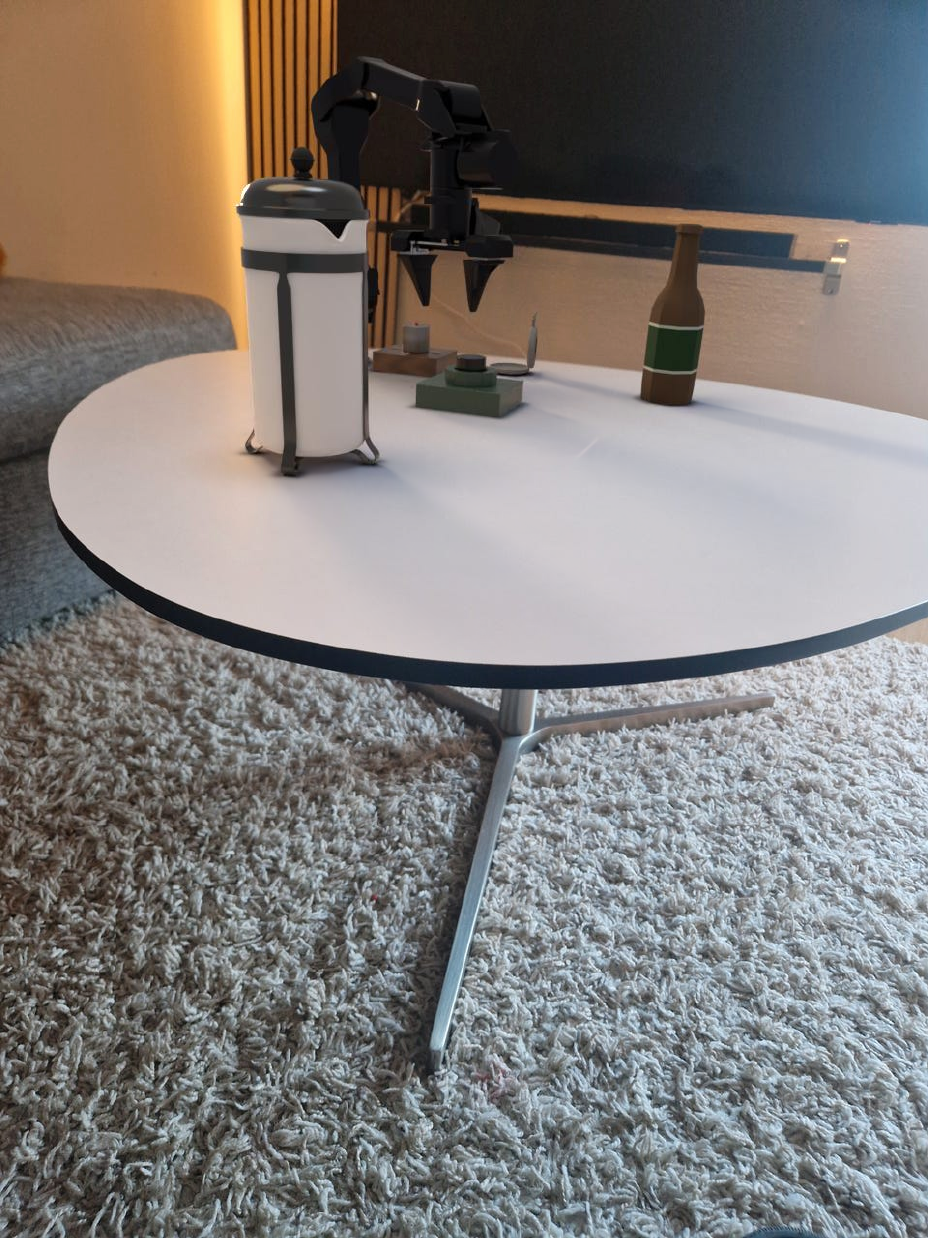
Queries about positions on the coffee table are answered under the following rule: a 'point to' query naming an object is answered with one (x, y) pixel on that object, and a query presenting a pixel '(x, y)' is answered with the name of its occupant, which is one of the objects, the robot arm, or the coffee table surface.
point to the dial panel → (413, 361)
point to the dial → (416, 338)
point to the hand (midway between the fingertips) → (448, 308)
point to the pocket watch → (531, 355)
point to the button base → (469, 392)
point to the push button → (471, 363)
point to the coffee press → (307, 314)
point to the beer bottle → (675, 327)
